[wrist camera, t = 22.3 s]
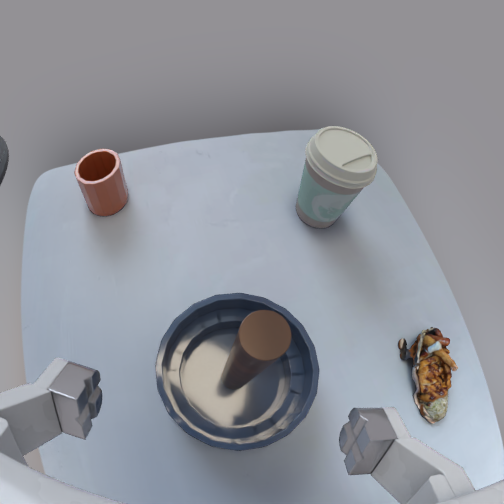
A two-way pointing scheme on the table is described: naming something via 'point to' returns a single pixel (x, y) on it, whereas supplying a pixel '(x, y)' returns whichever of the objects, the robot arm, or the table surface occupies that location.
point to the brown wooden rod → (256, 347)
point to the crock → (102, 182)
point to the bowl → (210, 376)
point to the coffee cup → (333, 174)
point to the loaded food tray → (430, 372)
